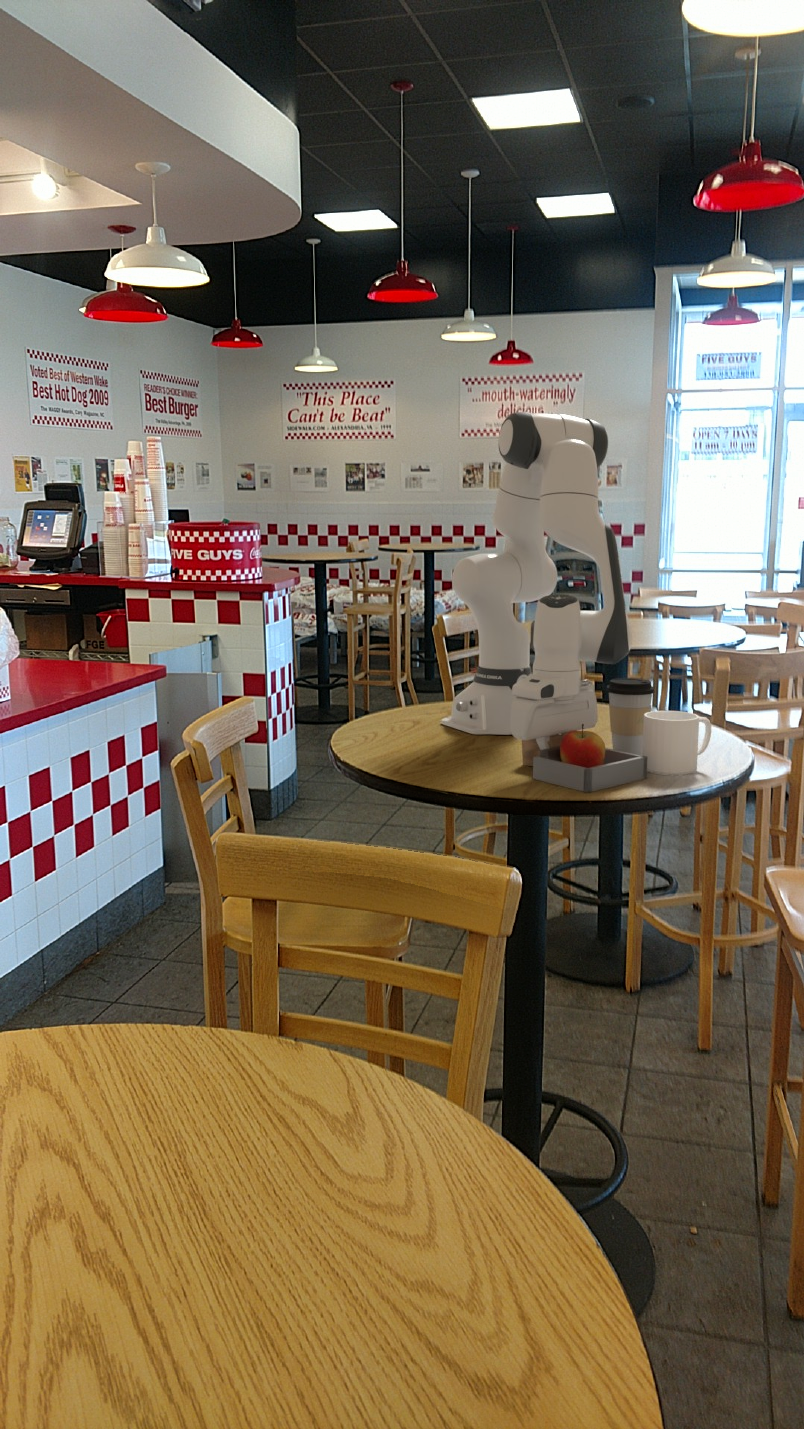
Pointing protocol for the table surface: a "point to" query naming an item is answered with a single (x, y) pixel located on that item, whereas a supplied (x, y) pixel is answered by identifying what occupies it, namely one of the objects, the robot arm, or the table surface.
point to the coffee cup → (628, 712)
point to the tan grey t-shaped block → (533, 750)
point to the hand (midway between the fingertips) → (554, 756)
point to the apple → (582, 749)
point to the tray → (592, 771)
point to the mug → (673, 741)
